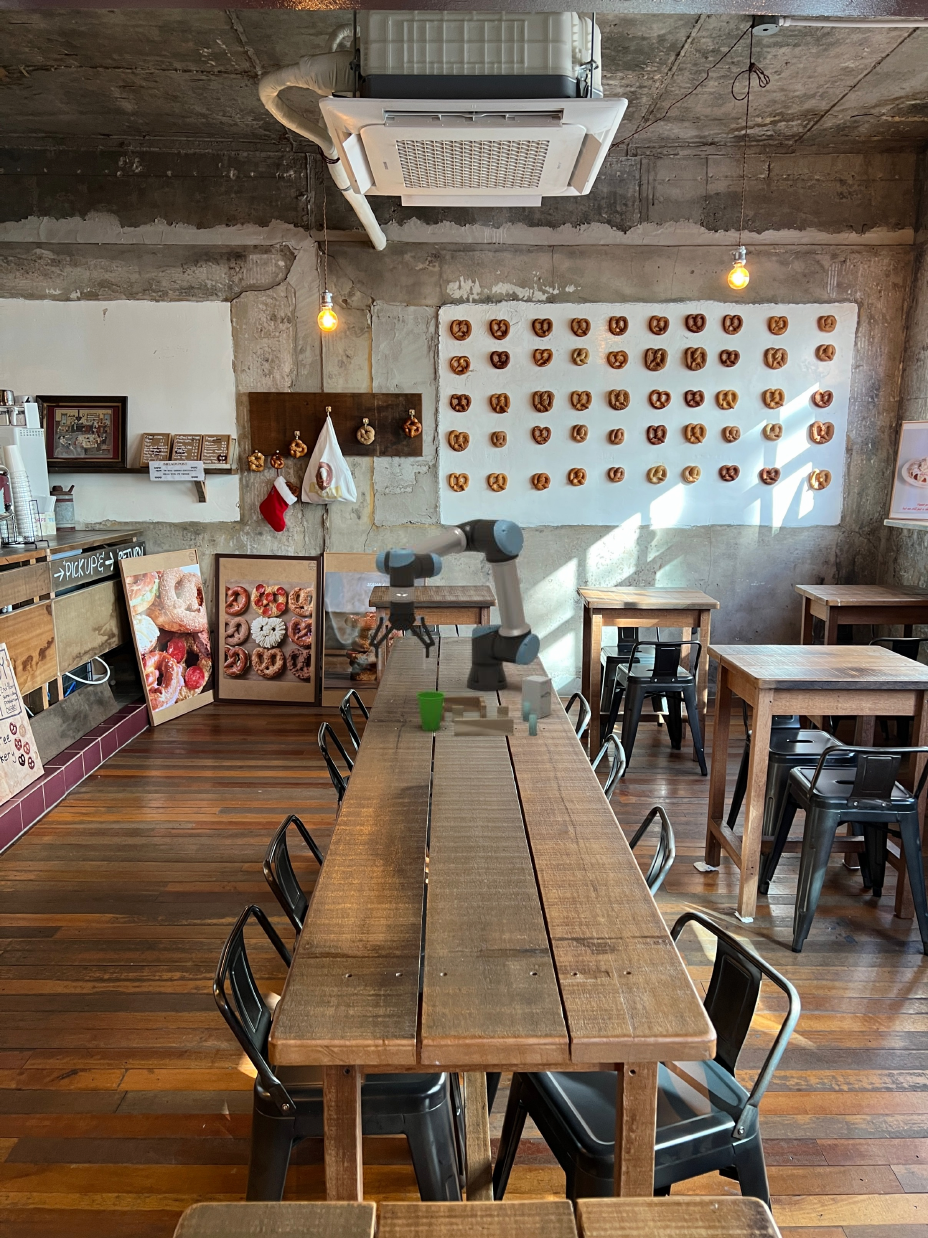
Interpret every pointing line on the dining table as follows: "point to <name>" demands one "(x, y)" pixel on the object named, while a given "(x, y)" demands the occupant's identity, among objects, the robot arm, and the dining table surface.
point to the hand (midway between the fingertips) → (402, 668)
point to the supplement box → (537, 695)
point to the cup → (430, 709)
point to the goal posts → (530, 718)
